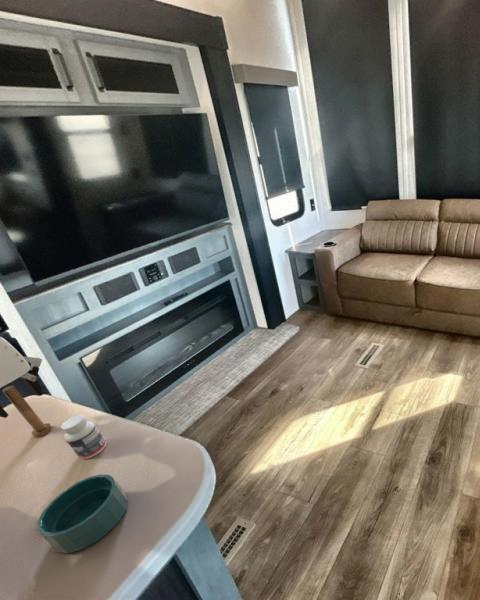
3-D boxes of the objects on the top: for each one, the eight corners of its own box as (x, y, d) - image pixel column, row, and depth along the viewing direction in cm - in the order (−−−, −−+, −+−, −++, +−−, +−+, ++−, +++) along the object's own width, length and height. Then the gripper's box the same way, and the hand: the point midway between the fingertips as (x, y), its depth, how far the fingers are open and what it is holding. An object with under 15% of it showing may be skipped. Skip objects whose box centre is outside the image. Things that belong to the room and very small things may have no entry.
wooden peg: (30, 436, 89) (-7, 392, 82) (46, 425, 92) (12, 382, 85) (39, 438, 87) (3, 394, 81) (55, 427, 90) (22, 384, 84)
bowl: (39, 545, 64) (21, 526, 61) (103, 486, 73) (89, 468, 70) (82, 563, 60) (64, 544, 57) (143, 499, 69) (129, 481, 67)
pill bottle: (73, 457, 81) (51, 428, 77) (97, 438, 85) (77, 410, 81) (89, 461, 79) (67, 433, 75) (112, 442, 83) (92, 414, 79)
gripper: (8, 319, 85) (51, 378, 94) (-97, 366, 71) (-35, 430, 79) (28, 322, 83) (70, 382, 91) (-77, 370, 69) (-16, 436, 77)
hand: (21, 404), depth 85 cm, fingers open, 6 cm apart
